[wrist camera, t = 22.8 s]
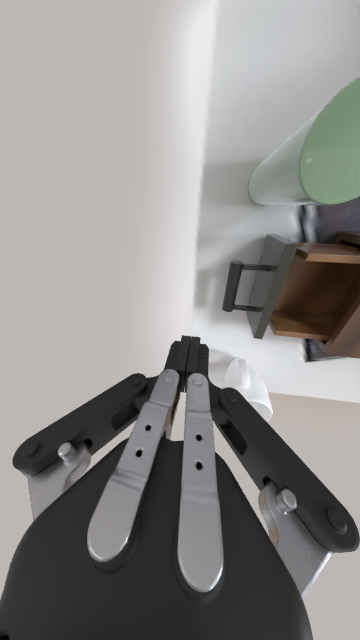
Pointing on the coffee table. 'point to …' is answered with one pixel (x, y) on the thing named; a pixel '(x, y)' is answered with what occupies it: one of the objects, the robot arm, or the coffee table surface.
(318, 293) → the drawer
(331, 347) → the cabinet
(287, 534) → the robot arm
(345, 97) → the green cylinder
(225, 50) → the coffee table surface
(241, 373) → the mug
